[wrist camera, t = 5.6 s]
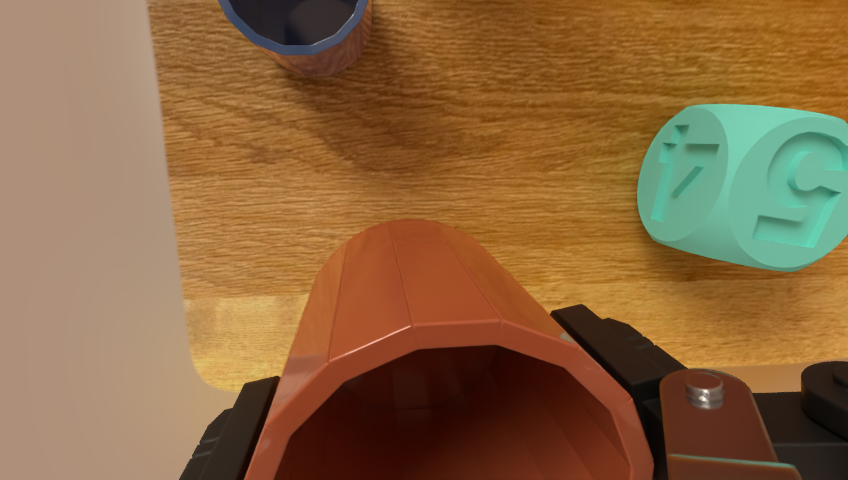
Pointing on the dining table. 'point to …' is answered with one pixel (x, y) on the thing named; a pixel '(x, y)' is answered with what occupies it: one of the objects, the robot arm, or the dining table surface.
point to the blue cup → (305, 31)
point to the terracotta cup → (440, 375)
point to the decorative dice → (748, 185)
